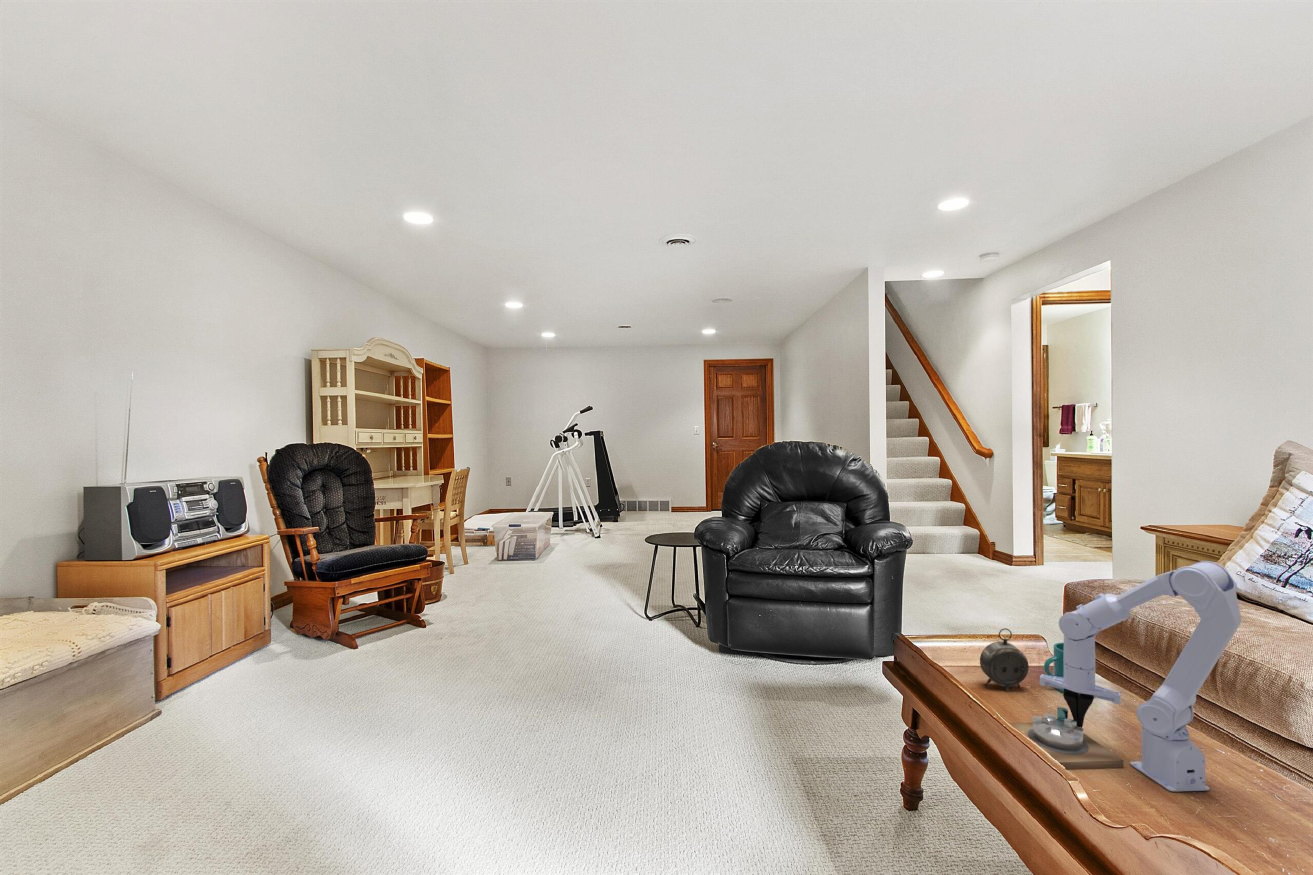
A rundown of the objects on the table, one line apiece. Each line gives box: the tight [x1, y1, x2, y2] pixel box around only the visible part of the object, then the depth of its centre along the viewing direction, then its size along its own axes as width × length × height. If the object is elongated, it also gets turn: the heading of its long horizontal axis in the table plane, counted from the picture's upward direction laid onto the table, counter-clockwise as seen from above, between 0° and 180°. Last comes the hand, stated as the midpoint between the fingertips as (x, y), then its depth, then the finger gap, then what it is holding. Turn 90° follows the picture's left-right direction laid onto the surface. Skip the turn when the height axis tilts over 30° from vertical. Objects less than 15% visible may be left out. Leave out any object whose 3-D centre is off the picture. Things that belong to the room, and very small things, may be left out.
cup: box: [1043, 642, 1080, 695], centre depth 156 cm, size 9×12×11 cm
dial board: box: [1009, 722, 1124, 770], centre depth 128 cm, size 16×16×2 cm
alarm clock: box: [979, 627, 1030, 693], centre depth 157 cm, size 11×5×16 cm, turn 84°
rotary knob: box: [1032, 706, 1084, 750], centre depth 129 cm, size 12×9×4 cm
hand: (1078, 725), depth 131 cm, fingers closed
